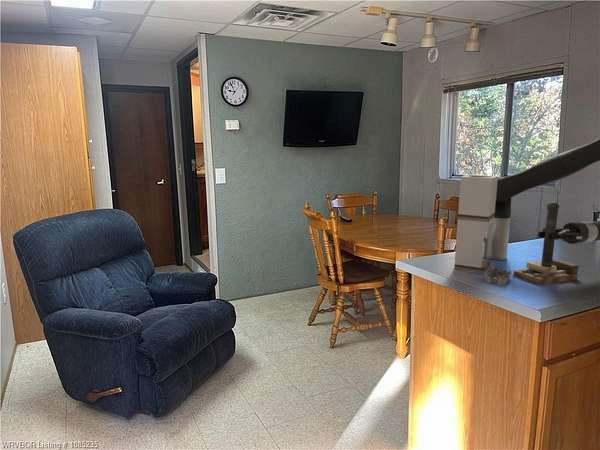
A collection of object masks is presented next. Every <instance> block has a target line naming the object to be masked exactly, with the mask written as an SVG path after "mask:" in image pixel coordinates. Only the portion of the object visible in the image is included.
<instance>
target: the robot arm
mask: <svg viewBox="0 0 600 450" xmlns="http://www.w3.org/2000/svg"><path fill="white" fill-rule="evenodd" d="M597 162H600V138H598V139H596V140H594V141H592V142H589V143H587V144H585V145H581V146H578V147H575V148H572V149H570V150H566V151H564V152H561V153H559V154H558V153H557V154H556V155H553V156H551V157H548V158H546V159H543V160H541V161H539V162H537V163H535V164H534V165H532V166H530V167H529V168H527V169H525V170H524V171H521V172H518V173H516V174H515V173H514V174H512V175H509V176H505V177H503V176H498V180H497V192H496V203H495V214H494V222H493V223H491V224H490V225H489V226H488V235H487V241H486V242H484V244H483V256H482V259H488V260H494V261H495V260H498V261H501V260H502V261H503V260H507V258H508V248H509V239H510V238H509V237H510V226H511V216H512V198H513V197H515V196H517V195H519V194H521V193H524V192H526V191H527V190H528V191H529V190H530V189H531V190H532V189H534V188H537V187H541V186H544V185H547V184H550V183H553V182H554V183H555V182H556V181H559V180H563V179H565V178H568V177H570V176H571V175H573V174H576V173H577V172H580V171H581V170H584V169H585V168H587V167H589V166H591V165H592V164H595V163H597ZM544 236H545V227H544V228H543V229H542V230H539V231H538V232H537V238H539V239H542V238H543V239H544ZM547 239H548V240H555V241H556V240H557V241H563V242H566V243H567V244H570V245H575V244H583V243H584V244H585V243H586V244H587V243H590V242H596V241H597V242H598V241H600V220H595V221H575V222H568V223H565V224H564V225H563V227H559V226H558V227H556V233H549V234H548V238H547Z"/></svg>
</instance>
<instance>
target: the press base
mask: <svg viewBox="0 0 600 450" xmlns="http://www.w3.org/2000/svg"><path fill="white" fill-rule="evenodd" d="M552 265H553V266H556V267H557V269H556V272H554V273H547V274H545V273H542V272H539V271H536V270H532V269H529V268H525V269H524V268H522V269H515V270H513V277H516V278H517V279H522V280H524V281H527V282H529V283H533V284H535V285H538V286H541V285H542V286H543V285H547V284H553V283H554V284H555V283H556V284H557V283H562V282H569V281H576V280H578V277H579V274H578V273H579V264H575V263H573V262H568V261H565V260H561V259H558V258H554V257H553V260H552Z"/></svg>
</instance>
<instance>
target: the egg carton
mask: <svg viewBox="0 0 600 450" xmlns="http://www.w3.org/2000/svg"><path fill="white" fill-rule="evenodd" d="M511 274H512V271H511V270H509V271H508V270H507V269H503V268H499V267H494V266H493V265H492V266H491V265H490V267H489V268H488V270H487V271H486V272H484V274H483V275H484V282H487V283H488V284H491V283H492V284H497V285H499V286H500V285H506V284H507V283H508V281H510V279H511V278H510V277H511Z"/></svg>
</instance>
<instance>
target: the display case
mask: <svg viewBox="0 0 600 450" xmlns="http://www.w3.org/2000/svg"><path fill="white" fill-rule="evenodd" d="M498 177H499V176H498V175H493V176H490V177H489V176H488V177H487V176H480V177H479V176H471V174H465V175H462V176H460V184H459V198H458V211H457V226H456V227H457V228H456V236H455V237H456V239H455V240H456V241H455V251H454V253H455V255H454V267H453V268H454V269H453V270H456V271H463V272H469V273H477V274H482V275H485V274H484V272H486V271H487V270H488V269H490V267H491V261H489V260H483V244H484V242H486V241H487V235H488V226H489V225H490V224H491V223H493V222H494V214H495V203H496V192H497V180H498Z"/></svg>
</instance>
